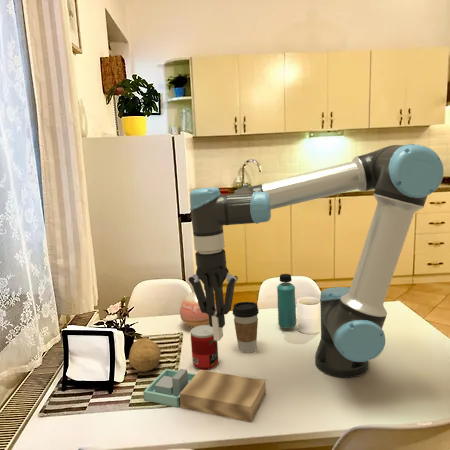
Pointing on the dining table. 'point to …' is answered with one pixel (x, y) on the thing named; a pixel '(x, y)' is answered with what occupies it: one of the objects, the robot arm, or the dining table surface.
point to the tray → (164, 398)
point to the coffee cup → (246, 325)
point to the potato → (144, 355)
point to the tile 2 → (179, 381)
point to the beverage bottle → (286, 302)
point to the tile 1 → (164, 385)
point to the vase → (193, 311)
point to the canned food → (204, 347)
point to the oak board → (224, 395)
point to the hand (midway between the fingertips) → (218, 338)
